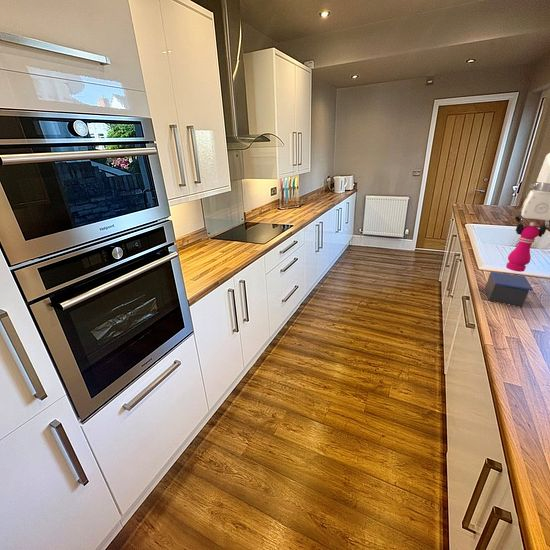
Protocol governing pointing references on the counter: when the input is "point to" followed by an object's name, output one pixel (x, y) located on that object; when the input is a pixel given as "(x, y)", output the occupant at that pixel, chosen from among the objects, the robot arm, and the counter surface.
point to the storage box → (505, 293)
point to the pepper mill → (523, 248)
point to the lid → (511, 281)
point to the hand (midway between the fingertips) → (528, 234)
